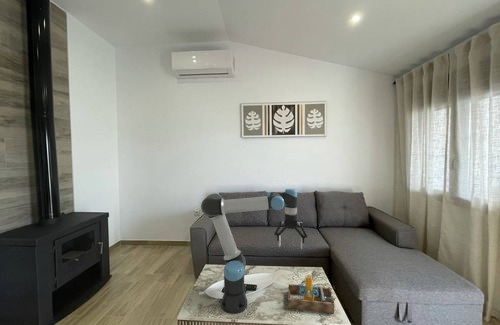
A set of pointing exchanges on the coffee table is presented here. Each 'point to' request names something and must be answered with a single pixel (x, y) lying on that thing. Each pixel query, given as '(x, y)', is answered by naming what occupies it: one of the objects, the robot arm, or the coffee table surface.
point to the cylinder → (308, 289)
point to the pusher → (323, 296)
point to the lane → (310, 304)
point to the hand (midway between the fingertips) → (290, 247)
